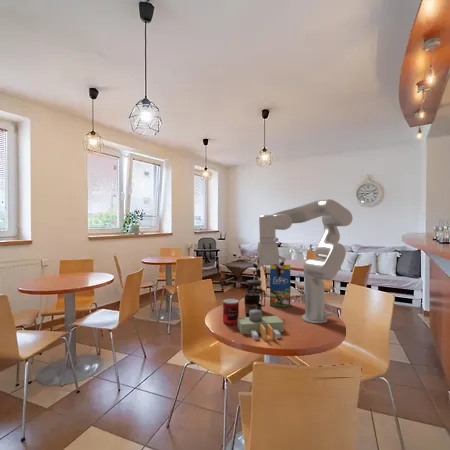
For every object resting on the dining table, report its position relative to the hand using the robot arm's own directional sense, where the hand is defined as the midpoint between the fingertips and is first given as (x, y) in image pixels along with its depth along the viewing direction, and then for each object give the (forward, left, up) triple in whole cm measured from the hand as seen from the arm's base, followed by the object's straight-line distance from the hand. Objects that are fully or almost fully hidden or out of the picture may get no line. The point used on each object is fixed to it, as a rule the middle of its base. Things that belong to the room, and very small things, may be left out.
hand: (268, 276), depth 134 cm
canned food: (+16, -11, -25) cm, 31 cm away
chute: (+4, +11, -25) cm, 27 cm away
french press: (-1, -28, -25) cm, 37 cm away
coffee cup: (+4, -15, -25) cm, 29 cm away
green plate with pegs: (+4, +4, -25) cm, 25 cm away
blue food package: (-19, -36, -25) cm, 47 cm away
